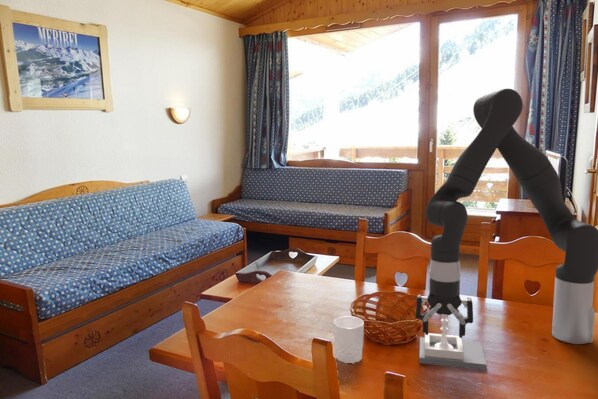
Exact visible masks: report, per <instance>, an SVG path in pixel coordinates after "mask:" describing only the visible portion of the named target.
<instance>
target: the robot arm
mask: <svg viewBox="0 0 598 399" xmlns="http://www.w3.org/2000/svg"><path fill="white" fill-rule="evenodd" d="M523 105H524V104H523V99H522V96H521V95H520V94H519V92H518V91H516V90H515V89H512V88H500V89H498V90H494V91H492V92H490V93H487V94H484V95H482V96H480V97H479V98H477V99H476V100H475V101H474V104H473V107H472V108H473V110H472V111H473V116H474V119H475V121H476V123H477V124H478V126H479V127H480V128H481V129H480V131H479V132H478V133H477V135H476V137H475V138H474V139H473V141H471V143H470V144H469V145H468V146H467V147H466V148H465V149H464V151H463V152H462V153H461V154H460V156H459V157H458V158H457V160H456V162H455V163H454V165H453V167H452V169H451V171H450V173H449V175H448V177H447V180H446V181H445V182H444V183H442V185H441V186H440V187H439V188H438V190H437V191H435V193H434V194H433V195H432V197H431V198H430V199H429V201H428V203H427V204H426V207H425V218H426V220H427V222H428V223H430V224H432V225H433V226H437V227H441V228H443V230H442V234H440V235H439V234H438V235H435V236H434V237H432V239H431V243H430V262H429V272H428V274H429V281H428V282H429V283H428V284H429V287H428V288H429V292H428V296H426V295H424V296H423V295H422V294H417V297H416V307H415V318H416V319H417V320H421V321H422V332H423V333H424V336H425V335H428V333H429V320H430V318H432V317H433V316H434V315H435V314H437V315H444V314H446V315H448V316H451V315H453V316H454V317H455V318H456V320H457V321H458V322H459V323H458V325H459V326H458V336H459V338H461V339H462V338H463V337H465V335H466V325H467V324H473V323H474V309H473V306H474V305H473V304H474V303H473V300H472V298H471V297H467V298H461V297H460V295H461V294H460V292H461V291H460V290H461V285H460V284H461V264H460V252H461V249H460V246H461V242H462V239H463V236H464V233H465V229H466V227H467V223H468V212H467V208H466V207H465V205H464V203H462V202H461V201H458V200H459V199H463V198H467V197H470V196H471V195H472V194H473V192H474V190H475V189H476V187H477V184H478V182H479V181H480V179H481V176H482V174H483V172H484V170H485V168H486V167H487V165H488V163H489V162H490V159H492V156H493V155H494V153H495V152H496V150H498V152H499V154H500V155H501V156H502V157H503V160H504V161H505V162H506V164H507V166H508V167H509V169H510V171H511V172H512V174H513V176H514V177H515V179H516V181H517V182H518V184H519V185H520V187H521V188H522V190H523V192H524V193H525V194H526V196H527V197H528V199H529V200H530V203H531V204H532V205H533V207H534V208H535V210H536V211H537V212H538V214H539V215H540V218H541V219H542V220H543V224H544V225H545V227H546V229H547V232H548V234H549V236H550V238H551V240H552V242H553V244H554V245H555V246H556V247H557V248H558V249H560V250H561V251H564V252H565V253H564V254H565V255H564V262H563V264H559V265H557V266H556V267H555V272H554V273H555V275H554V288H553V289H554V291H553V292H554V293H553V309H552V311H553V312H552V325H551V329H552V330H551V334H552V336H553V337H554V338H555V339H557V340H559V341H561V342H564V343H568V344H574V345H584V344H585V345H586V344H593V340H594V339H593V338H594V327H595V311H596V310H595V308H594V307H593V303H594V302H593V298H594V288H595V287H594V286H595V285H594V284H595V283H594V282H595V276H596V274H597V272H598V228H597V227H596V226H594V225H592V224H589V223H586V222H584V221H580V220H578V219H577V218H576V217H575V216H574V215H573V213H572V212H571V210H570V209H569V207H568V206H567V204H566V203H565V200H564V197H563V190H562V184H561V180H560V176H559V175H558V172H557V171H556V169H555V167H554V166H553V164H552V162H551V161H550V159H549V158H548V156H547V155H546V154H545V153H544V152H542V151H541V150H540V149H539V148H537V147H536V146H535V145H533V144H532V143H530V142H529V141H528V140H526V139H525V138H523V137H522V136H521V135H520V134H519V133H518V131H516V129H515V128H514V124H515V123H516V122H517V120H518V119H519V118H520V116H521V115H522V112H523ZM425 302H427V303H428V305H429V307H428V308H427V309H426V311H425V312H424V313H422V306H423V305H425ZM461 305H463V307H464V308H465V309H466V314H467V315H466V316H464V315H463V314H462V312H461V311H460V310H459V308H460V306H461Z"/></svg>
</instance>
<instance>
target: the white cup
mask: <svg viewBox="0 0 598 399" xmlns="http://www.w3.org/2000/svg"><path fill="white" fill-rule="evenodd" d="M364 323H365V321H364V320H363V319H362V318H360V317H358V316H353V315H343V316H339V317H336V318H335V319H334V320H333V333H334V334H333V336H334V345H335V346H334V347H335V351H336V352H335V356H336V360H338V362H340V361H341V362H340V363H342V362H345V363H344V364H347V363H352V364H356V363H355V362H357V363H359V362H360V361H361V360H362V358H363V348H364V331H365V330H364V326H365V324H364Z"/></svg>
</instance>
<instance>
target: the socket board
mask: <svg viewBox="0 0 598 399" xmlns="http://www.w3.org/2000/svg"><path fill="white" fill-rule="evenodd" d="M446 336H447V342H448V344H450V345H452V346H453V349H447V348H437V347H434V346H435V344H436V343H439V342H441V337H442V333H431V332H428V335H425V334H424V337H423V336H420V337H419V357H418V358H419V361H418V362H419V364H425V365H433V366H443V367H445V366H446V367H452V368H454V367H455V368H462V369H471V370H481V371H482V370H483V371H487V361H486V357H485V353H484V350H483V346H482V342H478V341H477V342H476V341H466V340H462V338H459V335H456V334H455V335H452V334H446Z"/></svg>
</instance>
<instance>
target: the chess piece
mask: <svg viewBox="0 0 598 399" xmlns="http://www.w3.org/2000/svg"><path fill="white" fill-rule="evenodd" d="M440 317H441V319H440V324H441V327H440V328H439V330H440V331H441V334H442V337H441V342H439V343H436V344H435V346H434V347H437V348H447V349H453V346H452V345H450V344H448V342H447V336H446V335H447V331H448V332H449V328H448V327H447V326H448V323H449V319H447V318H449V315H446V314H440Z"/></svg>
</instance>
